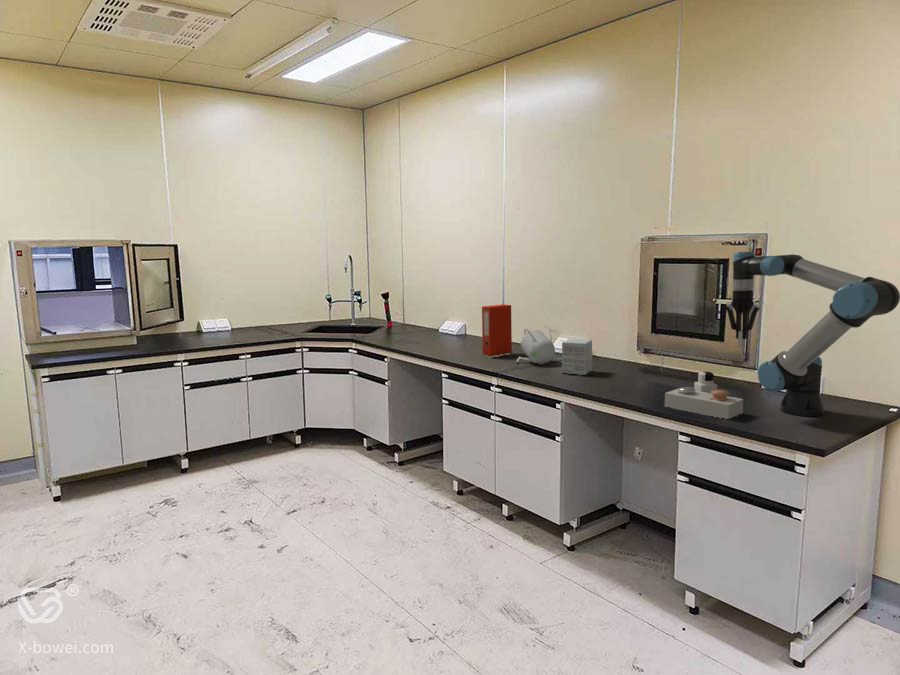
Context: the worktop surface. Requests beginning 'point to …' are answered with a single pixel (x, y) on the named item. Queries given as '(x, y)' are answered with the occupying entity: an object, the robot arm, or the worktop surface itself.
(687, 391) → the metal plug
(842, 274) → the robot arm
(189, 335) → the worktop surface
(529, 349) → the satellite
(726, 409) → the block
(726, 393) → the terracotta plug
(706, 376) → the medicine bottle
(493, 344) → the file binder
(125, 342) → the worktop surface
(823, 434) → the worktop surface
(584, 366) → the supplement box
